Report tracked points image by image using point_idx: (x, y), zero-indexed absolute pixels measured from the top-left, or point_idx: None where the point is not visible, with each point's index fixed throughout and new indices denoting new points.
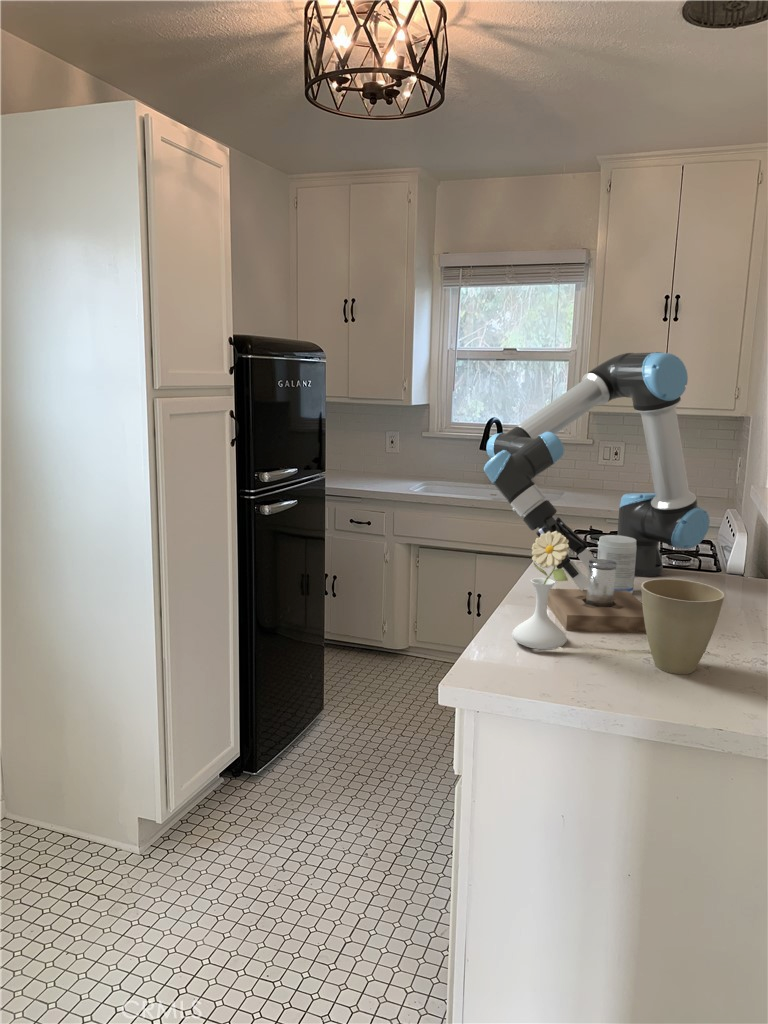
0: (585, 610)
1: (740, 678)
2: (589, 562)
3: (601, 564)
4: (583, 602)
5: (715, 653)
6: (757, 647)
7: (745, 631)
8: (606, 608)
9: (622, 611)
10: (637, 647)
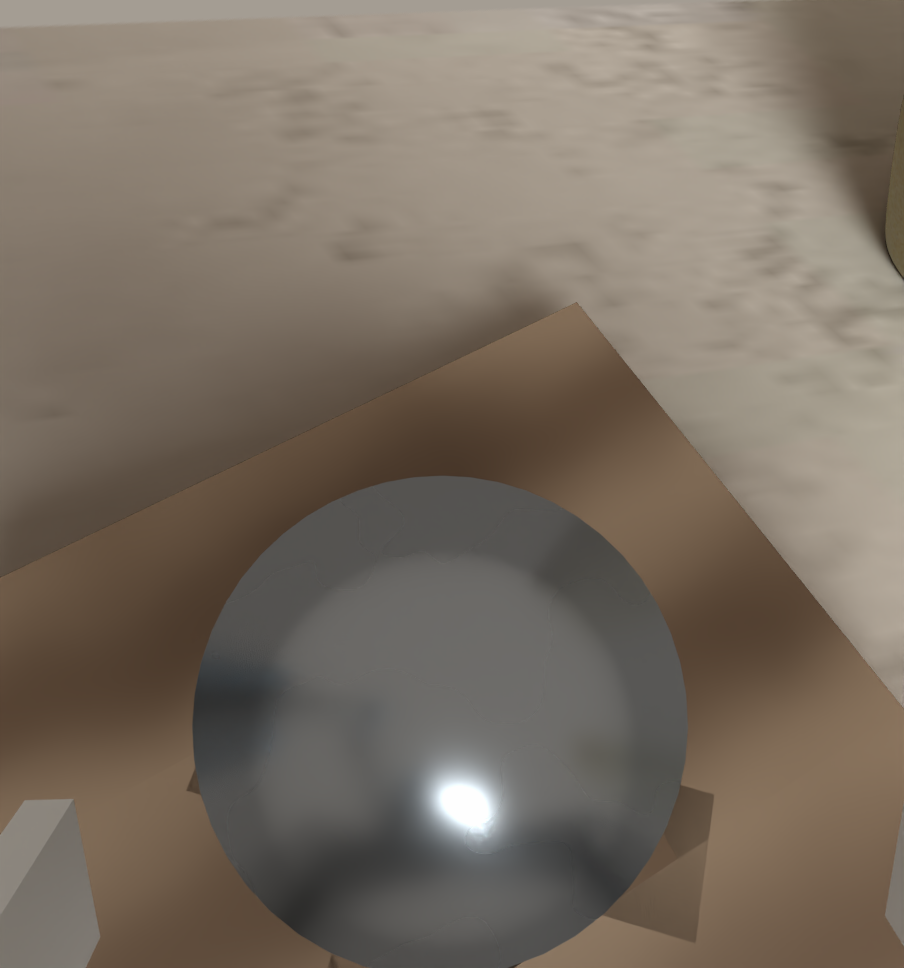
0: (827, 848)
1: (881, 43)
2: (556, 944)
3: (619, 676)
4: (567, 948)
5: (625, 134)
6: (408, 18)
7: (177, 63)
8: None
9: (610, 540)
10: (837, 447)
